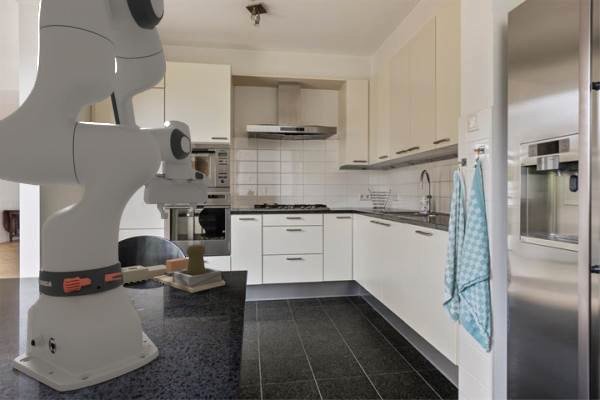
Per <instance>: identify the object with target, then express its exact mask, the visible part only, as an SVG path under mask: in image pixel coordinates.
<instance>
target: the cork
mask: <svg viewBox="0 0 600 400" xmlns="http://www.w3.org/2000/svg"><path fill="white" fill-rule="evenodd" d="M205 251H206V248H205V246H204V244H200V243H194V244H190V245H188V246H187V248H186V255H187V256H188V258H187V259H188V266H187V269H186V270H187V275H191V276H195V275H200V274H205V273H206V272H205V261H204V260H205V259H204V254H205V253H206V252H205Z"/></svg>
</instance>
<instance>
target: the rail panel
mask: <svg viewBox="0 0 600 400" xmlns="http://www.w3.org/2000/svg"><path fill="white" fill-rule="evenodd" d="M205 272H206V273H205V274H200V275H195V276H191V275H187V269H181V270H176V271H167V272H164V275H162V276H157V277H153V279H152V281H153V280H154V281H153V282H157V281H158V282H157V283H160V282H161V283H160V284H163V283H164V284H163V285H166V286H170V287H173V288H176V289H178V290H182V291H185V292H188V293H191V294H192V293H197V292H201V291H204V290H208V289H212V288H217V287H221V286H225V285H226V281H225V280H222V270H218V269H214V268H209V267H205Z"/></svg>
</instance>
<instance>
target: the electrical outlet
mask: <svg viewBox="0 0 600 400" xmlns="http://www.w3.org/2000/svg"><path fill="white" fill-rule="evenodd" d="M121 268H122V270H123V279H124V283H123V285H126V284H125V283H128V284H131V283H130V282H133V283H138V282H137V281H139V282H143V281H142V280H145V281H148V279H151V280H153V277H157V276H162V275H164V272H167V271H168V270H166V264H158V265H153V266H152V265H150V266H142V265H133V266H126V267H121Z"/></svg>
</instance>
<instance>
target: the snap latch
mask: <svg viewBox="0 0 600 400" xmlns="http://www.w3.org/2000/svg"><path fill="white" fill-rule="evenodd" d="M165 266H166V270H168V271H182V270H187V266H188V258H186V257H179V258H172V259H167V260H165Z"/></svg>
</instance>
